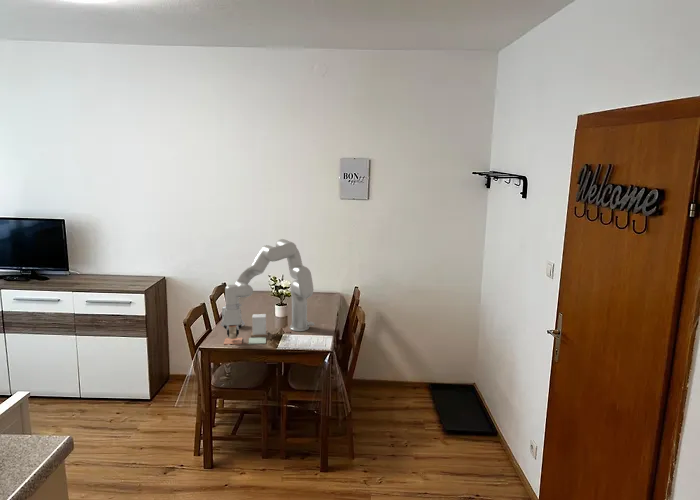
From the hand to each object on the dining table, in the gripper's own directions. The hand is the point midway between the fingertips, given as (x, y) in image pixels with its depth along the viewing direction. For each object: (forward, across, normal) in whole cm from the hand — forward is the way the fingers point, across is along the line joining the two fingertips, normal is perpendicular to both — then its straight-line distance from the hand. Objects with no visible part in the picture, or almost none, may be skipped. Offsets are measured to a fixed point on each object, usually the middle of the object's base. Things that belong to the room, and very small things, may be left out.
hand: (233, 335), depth 296 cm
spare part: (+1, 0, 0) cm, 1 cm away
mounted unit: (+4, -15, -10) cm, 18 cm away
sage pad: (+4, -14, +1) cm, 15 cm away
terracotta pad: (+4, 0, 0) cm, 4 cm away
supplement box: (+4, +4, -29) cm, 30 cm away
